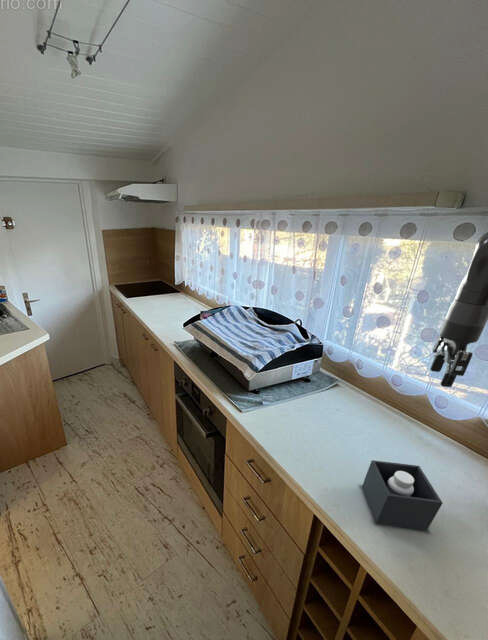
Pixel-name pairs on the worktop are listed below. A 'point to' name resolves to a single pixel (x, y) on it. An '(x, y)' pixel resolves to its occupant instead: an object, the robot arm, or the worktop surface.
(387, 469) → the waste bin
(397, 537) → the worktop surface
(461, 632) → the worktop surface
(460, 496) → the worktop surface
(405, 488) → the pill bottle
